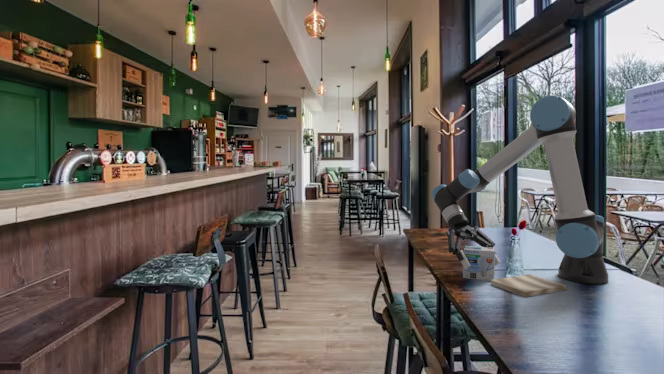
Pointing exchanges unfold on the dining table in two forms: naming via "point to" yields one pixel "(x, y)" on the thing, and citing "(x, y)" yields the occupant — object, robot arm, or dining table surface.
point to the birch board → (528, 285)
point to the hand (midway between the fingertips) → (483, 265)
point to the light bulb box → (480, 263)
